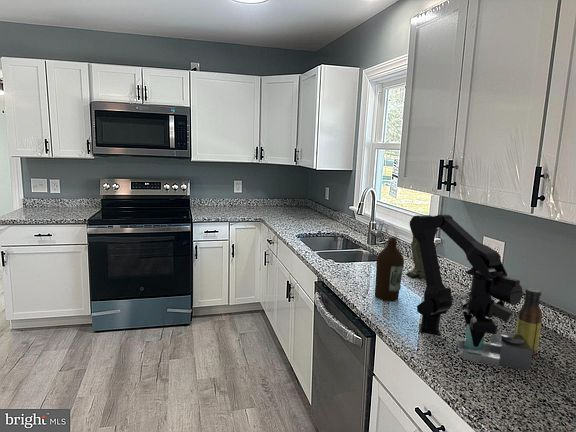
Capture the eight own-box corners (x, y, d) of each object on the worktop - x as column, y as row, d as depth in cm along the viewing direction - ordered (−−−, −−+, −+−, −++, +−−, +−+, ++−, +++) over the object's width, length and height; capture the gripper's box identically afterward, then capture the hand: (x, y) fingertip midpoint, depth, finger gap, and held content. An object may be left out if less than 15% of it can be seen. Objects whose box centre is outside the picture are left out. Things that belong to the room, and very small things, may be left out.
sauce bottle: (527, 346, 126) (538, 286, 123) (541, 356, 120) (552, 293, 117) (508, 346, 126) (518, 285, 123) (521, 356, 120) (531, 292, 117)
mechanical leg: (406, 277, 189) (426, 216, 186) (398, 272, 195) (417, 214, 193) (429, 283, 193) (450, 224, 190) (421, 278, 200) (440, 221, 197)
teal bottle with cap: (462, 341, 122) (465, 319, 121) (480, 343, 121) (483, 322, 120) (466, 348, 118) (469, 326, 116) (484, 351, 116) (487, 329, 115)
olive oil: (367, 294, 164) (373, 235, 160) (385, 291, 170) (391, 233, 166) (387, 303, 156) (393, 241, 151) (405, 299, 161) (412, 239, 157)
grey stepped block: (456, 343, 125) (459, 322, 124) (518, 353, 121) (521, 331, 120) (462, 359, 116) (466, 336, 115) (529, 370, 112) (533, 347, 111)
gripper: (522, 308, 106) (512, 362, 108) (502, 286, 124) (494, 333, 126) (476, 302, 108) (469, 355, 111) (463, 281, 126) (457, 327, 129)
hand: (473, 342), depth 119 cm, fingers closed on teal bottle with cap, 5 cm apart
